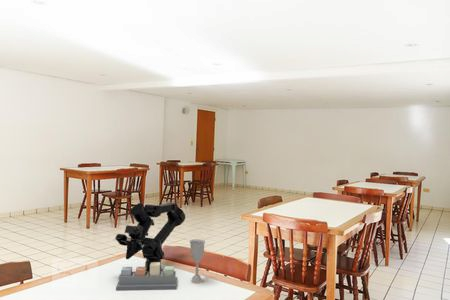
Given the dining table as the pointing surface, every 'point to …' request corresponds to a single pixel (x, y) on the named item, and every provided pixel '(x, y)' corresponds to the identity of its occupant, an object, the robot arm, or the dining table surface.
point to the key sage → (168, 270)
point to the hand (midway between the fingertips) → (126, 258)
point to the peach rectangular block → (141, 271)
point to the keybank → (147, 282)
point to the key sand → (155, 269)
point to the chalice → (197, 256)
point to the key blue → (126, 271)
